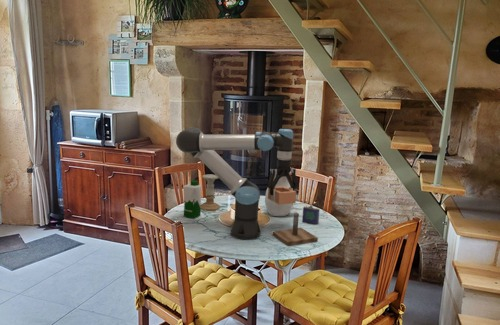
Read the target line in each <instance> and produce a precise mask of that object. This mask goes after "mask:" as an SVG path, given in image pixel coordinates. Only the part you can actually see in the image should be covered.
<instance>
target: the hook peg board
mask: <svg viewBox="0 0 500 325" xmlns="http://www.w3.org/2000/svg"><path fill="white" fill-rule="evenodd" d="M299 217H300V213H299V212H293V219H292V228H289V229H281V230H275V231H272V236H273V237H274V238H275V239H277V240H278V241H280V242H281V243H282V244H284V245H285V246H287V247H291V246H297V245H298V246H299V245H305V244H311V243H317V242H318V240H319V237H317V236H316V235H314V234H312V233H310V232H309V231H307V230H306V229H304V228H303V227H299Z"/></svg>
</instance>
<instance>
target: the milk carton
mask: <svg viewBox="0 0 500 325" xmlns="http://www.w3.org/2000/svg"><path fill="white" fill-rule="evenodd" d="M182 187H183V191H184V192H183V193H184V196H183V198H184V200H183V204H184V206H183V218H188V219H195V220H196V218H198V217H201V211H202V209H201V204H202V203H201V201H202V199H201V198H202V185H201V184H199V181H198V180H191V181H190V183H188V184H185V185H184V186H182Z"/></svg>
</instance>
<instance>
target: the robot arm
mask: <svg viewBox="0 0 500 325" xmlns="http://www.w3.org/2000/svg"><path fill="white" fill-rule="evenodd" d="M175 138H176V139H175V143H176V147H177V148H178V150H180V151H181V152H183V153H185V154H190V155H191V156H192V157H193V158H195V159H197V158H198V159H199V160H200V161H201V162H202V163H203V164H204V165H205V166H206V167H207V168H208V169H209V170H210V171H211V172H212V173H214V175H217V176H218V177H219V178H218V179H219V180H221V181H222V183H223V184H224V185H226V186H227V188H229V189H230V195H232V196H233V197H234V199H235V200H234V219H233V222H232V225H231V227H230V236H231V237H233V238H235V239H238V240H246V241H247V240H256V239H258V238H260V237H261V226H260V223H259V220H258V219H259V205H260V204H259V203H260V198H261V192H260V189H259V187H258V186H257V185H256V184H255V183H253V182H251V181H250V180H249V179H248V178H247V177H246V178H245V177H242V176H241V175H240V174H239V173H238V172H236V171H235V169H234V168H233V167H232V166H231V165H229V163H228V162H227V161H225V160H224V159H223V158H222V157H221V156H220V154H218V153H217V152H216V151H252V150H253V151H263V152H268V151H270V150H271V149H272V148H277V152H276V154H277V155H276V158H277V159H276V168H275V169H273V168H270V169H271V171H270V176H269V179H268V182H267V185H266V188H270V195H271V201H273V202H275V189H274V188H275V186H276V184H277V183H278V181H279V179H280V178H281V177H284V176H285V177H286V178H287V180H288V182H289V184H290V187H289V189H291V190H293V191H295V189H296V188H297V187H298V181H297V174H296V172H297V169H295V168H293V167H292V156H293V155H292V154H293V143H294V131H293V130H292V129H290V128H280V129H279V130H278V132H269V131H256V132H255V134H204V132H203V131H201V129H199V128H197V127H196V128H195V127H188V128H186V129H183V130H181V131H179V133H178V134H177V135H176V137H175ZM291 167H292V168H291ZM276 172H277V174H276V177H275V173H276ZM289 173H290V174H289ZM274 177H275V179H274ZM273 180H274V181H273Z"/></svg>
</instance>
